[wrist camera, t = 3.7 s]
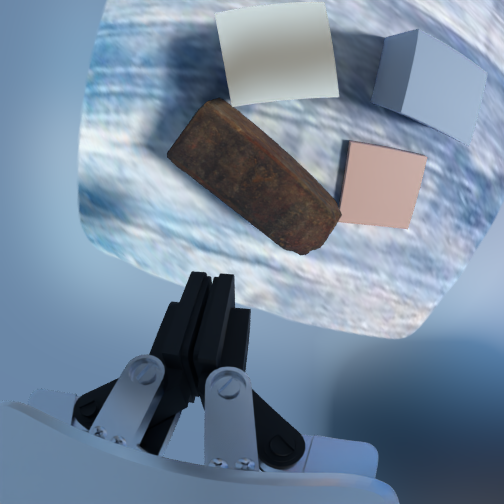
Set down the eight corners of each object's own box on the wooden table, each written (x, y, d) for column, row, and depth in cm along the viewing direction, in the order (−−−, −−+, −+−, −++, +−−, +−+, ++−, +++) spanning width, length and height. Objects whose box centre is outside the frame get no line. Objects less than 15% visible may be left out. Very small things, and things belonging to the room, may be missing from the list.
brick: (185, 139, 17) (160, 159, 14) (221, 95, 16) (204, 100, 12) (297, 230, 21) (301, 269, 17) (335, 197, 19) (350, 230, 15)
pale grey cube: (230, 30, 13) (214, 13, 9) (311, 22, 12) (324, 1, 8) (243, 100, 16) (232, 107, 12) (322, 92, 15) (339, 97, 11)
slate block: (384, 37, 12) (419, 28, 8) (444, 67, 12) (487, 72, 8) (370, 102, 15) (400, 112, 11) (429, 127, 15) (469, 146, 11)
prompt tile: (349, 140, 16) (350, 142, 16) (424, 155, 16) (427, 157, 16) (336, 218, 20) (337, 222, 19) (405, 226, 20) (407, 229, 19)
